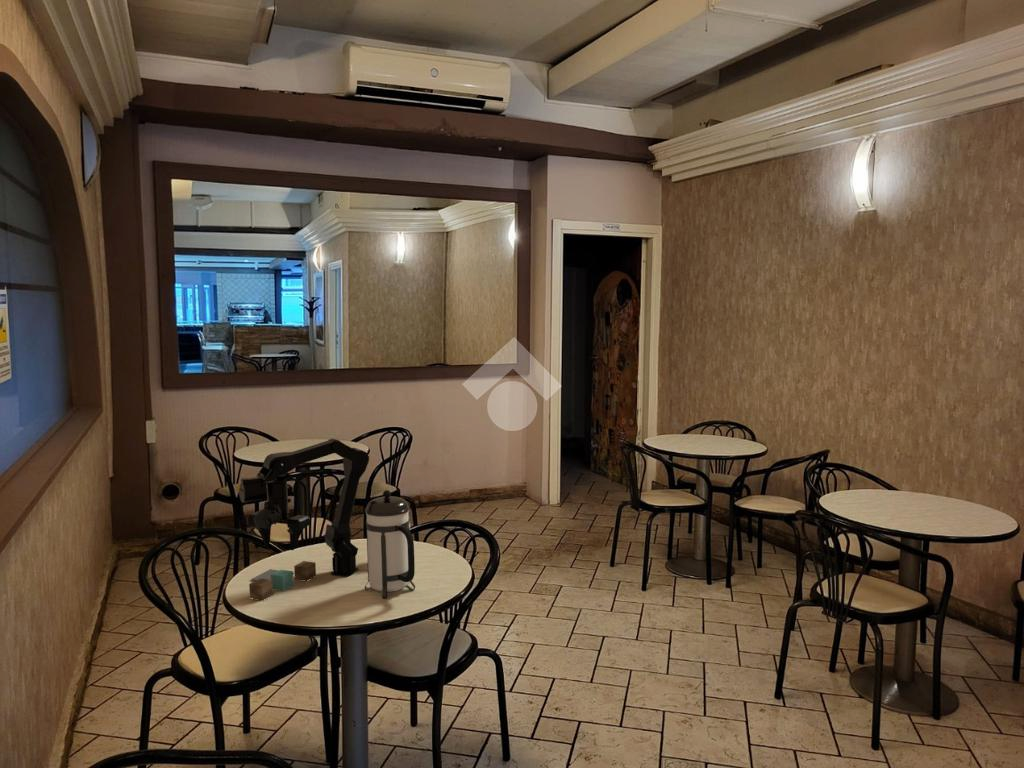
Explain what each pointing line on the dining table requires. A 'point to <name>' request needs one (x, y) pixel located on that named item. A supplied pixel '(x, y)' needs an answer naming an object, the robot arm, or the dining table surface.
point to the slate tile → (265, 575)
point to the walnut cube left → (261, 589)
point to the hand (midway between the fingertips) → (280, 548)
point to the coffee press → (389, 544)
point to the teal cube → (282, 579)
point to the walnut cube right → (305, 570)
